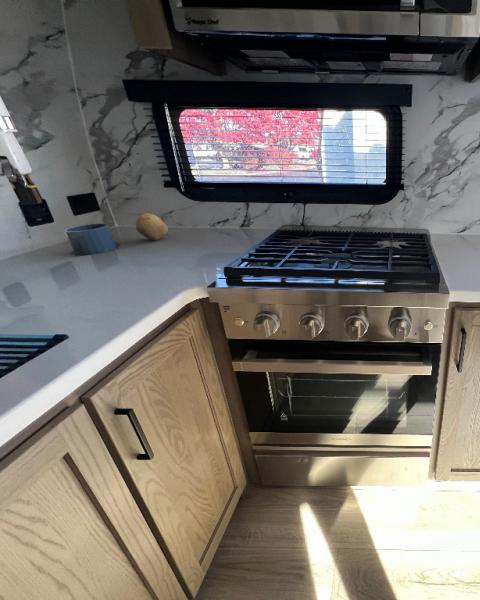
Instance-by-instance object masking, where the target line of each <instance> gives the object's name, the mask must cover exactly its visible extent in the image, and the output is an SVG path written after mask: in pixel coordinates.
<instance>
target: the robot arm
mask: <svg viewBox="0 0 480 600" xmlns="http://www.w3.org/2000/svg"><path fill="white" fill-rule="evenodd" d="M7 108H8V107H6V104H5V103H4V100H3V99H2V96H1V95H0V177H6V178H7V180H8V182H9V184H10V186H11V188H12V190H13V192H14V193H15V196H16V197H17V199H18V201H19V203H20V204H21V205H22V206H26V205H27V206H28V204H29V205H36V204H37V203H38V200H37V198H36V197H35V195H34V193H33V191H32V189H31V187H30V188H29V186H28V185H36V183H35V182H34V180H33V178H32V177H31V175H30V174H31V172H33V169H32V167H31V165H30V162H29V161H28V159H27V157H26V154H25V152H24V151H23V149H22V147H21V144H20V143H19V141H18V139H17V138H16V136H15V134H14V133H19V131H18V129H17V127H16V125H15V123H14V120H13V119H12V116H11V114H10V113H9V110H8V109H7ZM35 188H36V190H37V192H38V194H39V196H40V198H41V200H42V201H43V197H42V195H41V193H40V191H39V189H38V186H37V187H35ZM38 204H39V203H38ZM38 204H37V205H38Z"/></svg>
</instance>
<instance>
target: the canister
mask: <svg viewBox="0 0 480 600" xmlns="http://www.w3.org/2000/svg"><path fill="white" fill-rule="evenodd" d="M63 231H64V234H65V236H66V238H67V240H68V242H69V244H70V246H71V248H72V250H73V252H74V254H75V255H76V256H79V257H80V256H83V257H84V256H92V255H93V256H94V255H99V254H104V253H108V252H112V251H114V250H117V248H118V245H117V242H116V240H115V238H114V234H113V233H112V230H111V227H110V226H109V224H108V223H104V222H103V223H98V222H97V223H89V224H82V225H76V226H72V227H68V228H66V229H64V230H63Z"/></svg>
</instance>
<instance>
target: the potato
mask: <svg viewBox="0 0 480 600" xmlns="http://www.w3.org/2000/svg"><path fill="white" fill-rule="evenodd" d="M135 229H136V232H138V233H139V234H140V235H141V236H143V237H145V238H147V239H148V240H151V241H158V240H161V239H162V237H164V236H165V235H166V234H168V231H169V228H168V226H167V224H166V223H165V222H164V221H163V220H162V219H161V218H160V217H158V216H157V215H155V214H153V213H150V212H149V213H148V212H146V213H141V214H140V215H139V216H138V217H137V218H136V221H135Z"/></svg>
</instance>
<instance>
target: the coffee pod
mask: <svg viewBox="0 0 480 600" xmlns="http://www.w3.org/2000/svg"><path fill="white" fill-rule="evenodd" d="M28 186H29V188H30V187H31V189H32V191H33V193H34V195H35V197H36V198H37V200H38V203H37V205H38V204H42V203H43V200H41V198H40V196H39V194H38V192H37V190H36V188H35V187H37V188H38V186H37V184H35V185H28ZM28 205H29V206H30V204H28ZM28 205H27V206H28Z"/></svg>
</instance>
